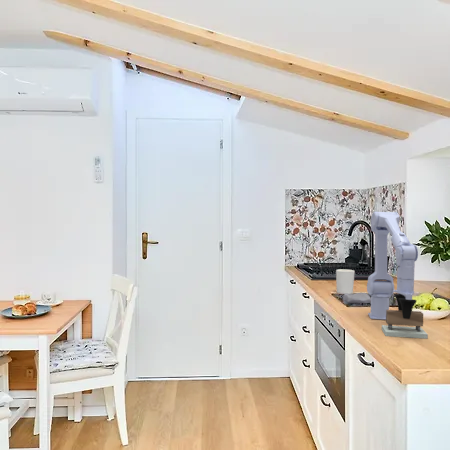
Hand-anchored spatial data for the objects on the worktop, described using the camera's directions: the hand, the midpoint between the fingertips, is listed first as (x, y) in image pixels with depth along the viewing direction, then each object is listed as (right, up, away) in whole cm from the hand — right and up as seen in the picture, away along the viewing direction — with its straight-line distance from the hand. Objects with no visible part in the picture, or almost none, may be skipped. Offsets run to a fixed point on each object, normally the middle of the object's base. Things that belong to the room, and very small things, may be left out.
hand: (404, 316), depth 173 cm
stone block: (0, -5, +59) cm, 59 cm away
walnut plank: (0, -3, 0) cm, 3 cm away
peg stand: (0, -6, 0) cm, 6 cm away
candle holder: (0, -4, +85) cm, 85 cm away
